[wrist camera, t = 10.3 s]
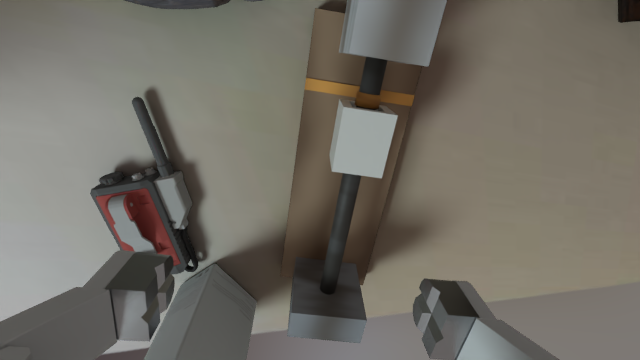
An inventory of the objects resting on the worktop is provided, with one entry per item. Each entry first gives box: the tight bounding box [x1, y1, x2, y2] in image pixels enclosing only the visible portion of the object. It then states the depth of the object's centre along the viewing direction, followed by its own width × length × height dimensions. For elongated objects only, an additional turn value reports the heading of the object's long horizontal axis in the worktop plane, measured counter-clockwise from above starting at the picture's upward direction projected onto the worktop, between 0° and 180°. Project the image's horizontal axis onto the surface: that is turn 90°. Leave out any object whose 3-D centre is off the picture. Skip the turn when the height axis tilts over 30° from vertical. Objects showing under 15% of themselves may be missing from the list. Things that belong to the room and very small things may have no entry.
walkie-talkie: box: [90, 97, 198, 275], centre depth 31 cm, size 9×4×20 cm
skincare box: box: [144, 263, 257, 360], centre depth 32 cm, size 8×6×15 cm
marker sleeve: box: [329, 99, 398, 178], centre depth 24 cm, size 4×5×4 cm
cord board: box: [280, 0, 447, 343], centre depth 27 cm, size 10×29×10 cm, turn 171°
